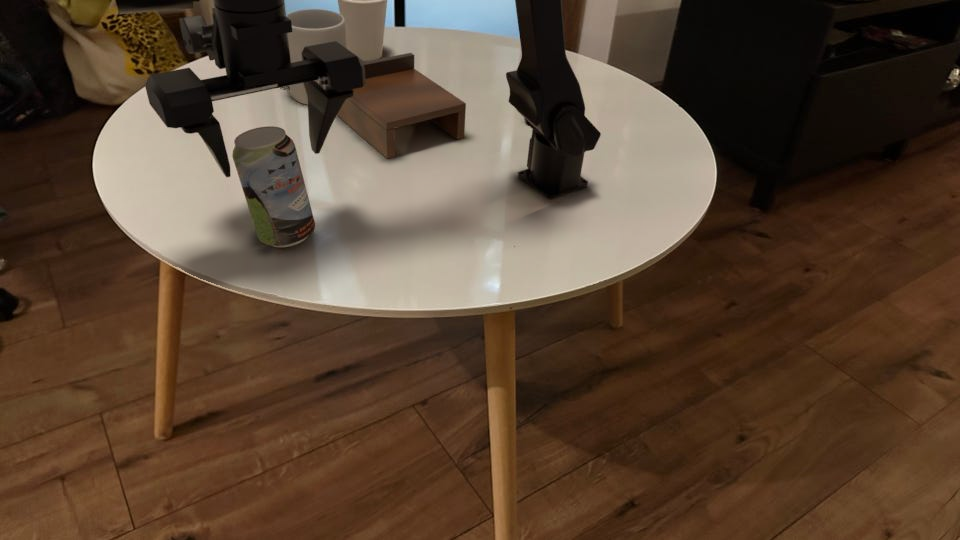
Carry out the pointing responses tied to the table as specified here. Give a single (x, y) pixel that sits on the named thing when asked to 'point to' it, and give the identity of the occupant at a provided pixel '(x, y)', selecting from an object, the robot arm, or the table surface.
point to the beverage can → (273, 186)
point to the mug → (312, 37)
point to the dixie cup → (364, 27)
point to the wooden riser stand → (399, 103)
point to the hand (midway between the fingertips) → (272, 163)
